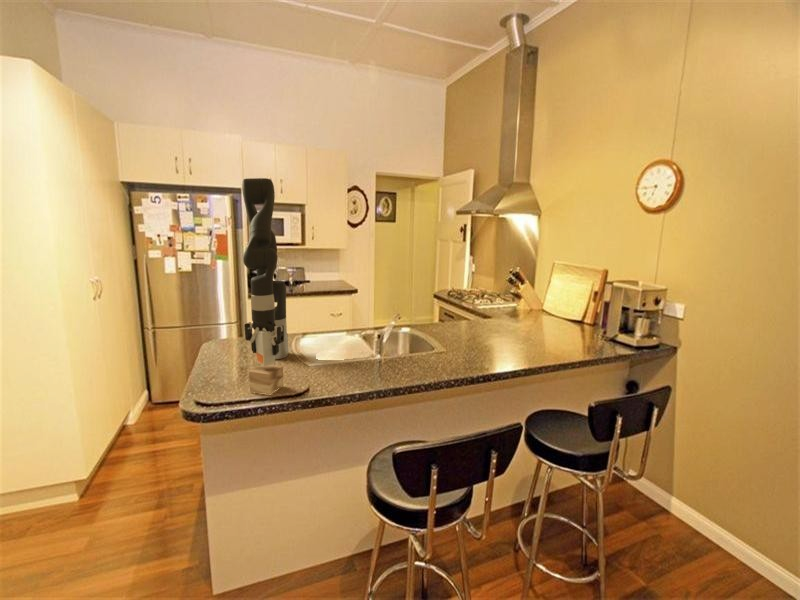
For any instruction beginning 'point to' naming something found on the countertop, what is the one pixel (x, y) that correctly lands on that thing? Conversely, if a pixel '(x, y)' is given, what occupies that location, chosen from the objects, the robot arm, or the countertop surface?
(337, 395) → the countertop surface
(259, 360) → the skincare box
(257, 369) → the tan square block
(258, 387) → the block lower
